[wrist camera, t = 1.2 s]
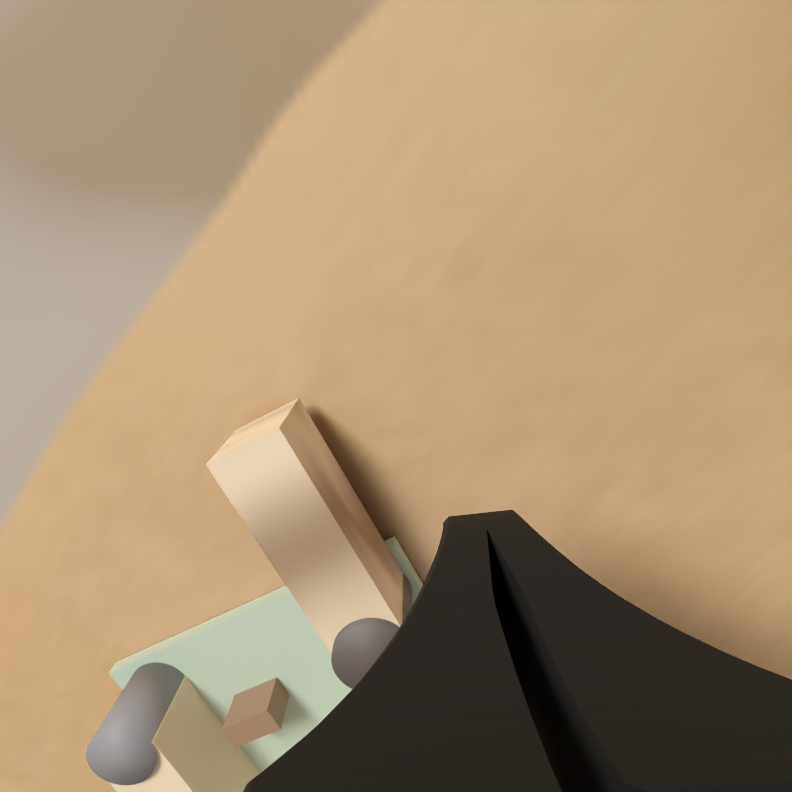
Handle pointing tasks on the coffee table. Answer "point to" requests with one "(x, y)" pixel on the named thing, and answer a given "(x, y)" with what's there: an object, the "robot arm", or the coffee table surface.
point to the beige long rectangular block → (315, 535)
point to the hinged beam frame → (221, 698)
